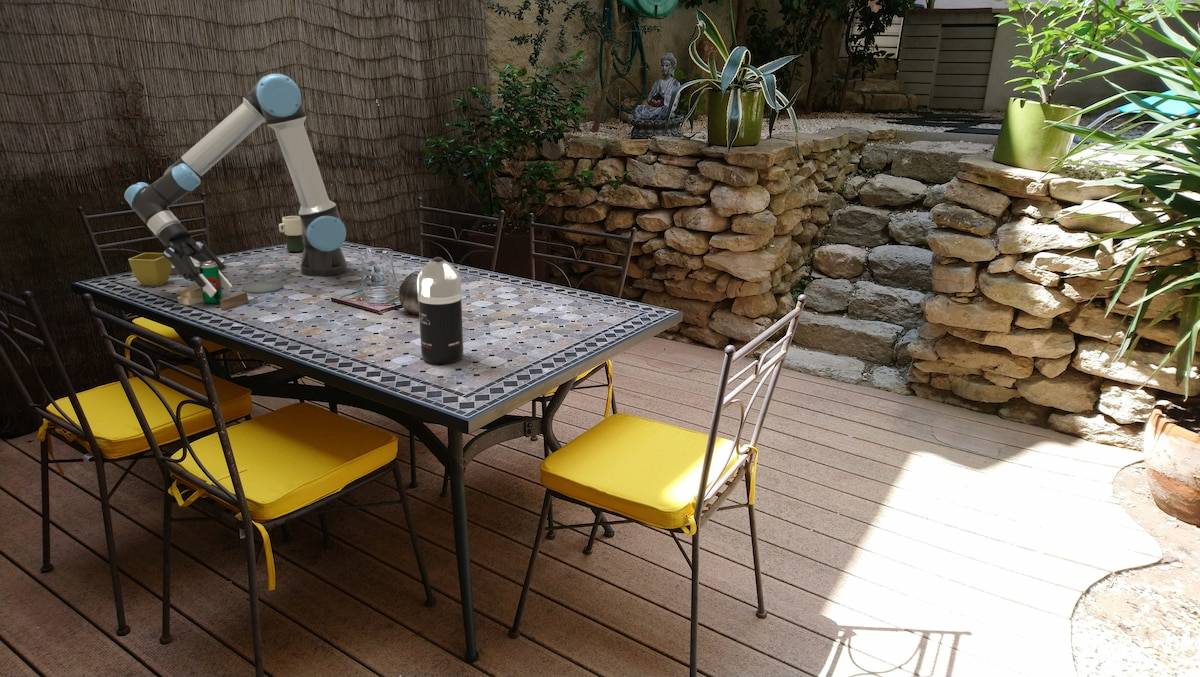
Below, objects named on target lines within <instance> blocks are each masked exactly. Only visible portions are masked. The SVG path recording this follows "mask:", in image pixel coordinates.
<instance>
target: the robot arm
mask: <svg viewBox="0 0 1200 677" xmlns="http://www.w3.org/2000/svg"><path fill="white" fill-rule="evenodd" d="M307 117H308V116H307V114H306V111H305V107H304V105H303V102H302V94H301V91H300V88H299V86H298V84H297V83H296V82H295V81H294V80H293V79H292V78H290V77H289V76H287V75H285V74H282V73H268V74H265V75H263V76H262V77H261V78H259V80H258V81H257V82H256V84H255V85H254V86H253V88H252V89H251V90H250V91H249V92H248V93H247V94H246V95H244V96H243V97H242V103H241V104H240V105H239V106H238V107H237V108H235V109H234V110H233V111H232V112H231V113H230V114H228V116H226V117H225V118H224V119H222V121H221V122H219V123H218V124H217V125H216V126H215V127H214V128H213V129H212V130H211V131H209V132H208V133H207V134H206V135H205V136H204V137H202V138H201V139H200V140H199V141H198V142H197V143H196V144H194V145H193V146H192V147H191V148H190V149H189V150H187V151H186V152H185V153H184V154H183V155H182V156H181V157H180V158H179V159H177V160H176V161H175V162H174V163H173V164H171V165H169V166H168V167H167V168H166V169H165V170H164V173H163V175H162V176H161V177H159V178H158V179H157V180H155V181H153V183H151V184H148V183H146V182H143V181H141V182H137V183H135V184H131V185H130V186H129V187H128V188H127V189H126V190H125V192H124V196H123V197H124V199H125V201H126V202H127V203H128V204H129V206H130V207H131V209H132V210H133V211H134V213H135V214H137V215H138V217H139V218H140V219H141V220H142V221H143V223H144V224H145V225H146V226H147V227H148V229H149V230H150V231H151V232H152V234H154V235H155V236H156V237H157V239H158V240H159V241H160V242H161V244H162V245H163V246H164V247H165V249H164V252H163V256H164V257H166V258H167V259H168V260H169V261H170V262H171V263H172V264H173V265H174V267H175V268H176V269H177V270H178V271H179V273H180V274H179V275H181V276H182V277H183V279H184V280H186V281H188V280H189V281H190V282H195V283H196V284H198V285H199V287H201V288H203V289H204V290H205V291H206V293H207V294H208V295H209V296H210V297H213V296H214V294H215V293H216V292H217V291H216V289H215V288H214V287H213V286H212V285H211V284H210V282H209V281H208V280H207V279H206V278H205V277H204V275H203V274H200V275H199V273H198V271H197V269H196V267H195V265H194V264H193V262H192V260H191V258H190V256H191V257H192V258H193V259H196V260H197V261H199V262H204V261H215V262H216V264H217V265H218V269H219V276H220V283H221V289H222V290H224V291H225V292H226V293H230V290H231V289H232V288H233V285H232V284H231V282H230V281H229V280H228V278H227V275H225V273H223V271H222V268H223V267H224V264H223V263H222V262H221V261H220V260H219V259H218V258H217V257H218V256H217V255H216V254H215V253H214V252H213V251H212V249H211V248H210V247H209V246H208V245H207V241H205V240H204V239H203V240H201V241H196V240H195V239H193V238H192V237H191V235H190V232H189V231H188V229H187V228H186V227H185V226H184V224H182V223H181V221H180V220H179V218H177V216H175V214H174V213H173V212H172V211H171V209H170V208H169V207H171V206H173V205H174V203H176V202H177V201H179V200H180V199H183V197H185V196H186V195H188V194H189V193H191V192H193V191H195V189H196V188H197V187H198V186H200V185H201V177H203V175H204V174H206V173H207V172H208V171H209V170H210V169H212V167H214V166H215V165H216V164H217V163H219V161H220V160H221V159H222V158H224V157H225V156H226V155H228V154H229V153H230V152H231V151H232V150H233V149H234V148H235V147H237V146H238V145H239V144H240V143H241V142H242V141H243V140H245V139H246V138H247V137H248V136H249V135H250V134H251V133H252V132H253V131H255V130H256V129H257V128H258V127H260V126H261V124H262V123H263V124H264V123H266V125H267V126H268V127H269V128H271V129H273V130H274V133H275V135H276V139H277V141H278V143H279V144H278V145H279V146H280V150H281V152H282V155H283V158H284V161H285V163H286V166H287V169H288V171H289V175H290V178H291V182H292V184H293V186H294V190H295V191H296V196H297V198H298V200H299V204H300V206H299V211H298V216H300V219H301V226H302V235H301V237H302V239H303V245H304V250H303V251H302V256H301V257H302V258H301V260H300V261H301V262H300V265H299V266H300V274H302V275H306V276H314V277H315V276H316V277H324V276H325V277H326V276H334V275H339V274H343V273H345V272H347V271H348V262H347V260H346V258H345V255H344V254H343V250H342V249H341V246H342V245H343V244H344V242H345V240H346V236H347V229H346V226H345V224H344V222H343V221H342V219H341V217H340V216H341V215H340V213H339V209H338V207H337V203H335V202H334V201H332V200H330V199H329V195H328V191H327V190H326V187H325V184H324V181H323V178H322V175H321V172H320V168H319V166H318V163H317V160H316V157H315V154H314V151H313V148H312V144H311V142H310V139H309V135H308V133H307V130H306V127H305V124H304V123H305V121H306V119H307Z"/></svg>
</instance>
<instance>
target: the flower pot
mask: <svg viewBox="0 0 1200 677" xmlns="http://www.w3.org/2000/svg"><path fill="white" fill-rule="evenodd" d="M163 253H164V252H163ZM163 253H162V252H142V253H141V254H138V255H136V256H133V257H130V258H128V259H127V260H128V262H129V266H130V269H131V271H132V274H133V276H134V277H135V279H136V280H137V281H138V282H139V283H140V285H142V286H157V287H158V286H161V285H163V284H164V283H167V282H168V281H169V278H170V276H171V275H172V274H171V268H172V263H171V262H170V261H169V260H168V259H167V258H166V257H164V256H163Z"/></svg>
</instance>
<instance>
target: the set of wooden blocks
mask: <svg viewBox="0 0 1200 677" xmlns="http://www.w3.org/2000/svg"><path fill="white" fill-rule="evenodd" d="M179 294H180V295H179V296H177V302H178V305H183V306H192V305H195V304H198V303H201V302H204V300H203V294H202V288H201V287H199V285H198V284H197V283H196V284H194V285H191V286H188V287H185V288H182V289H179ZM246 302H247V303H249V297H248V293H247V292H243V291H242V292H240V293H237V294H234V295H231V296H228V297H223V299H221V300H220V303H219V304H220V308H221V309H220V311H227V310H230V309H233V308H235V307H238V305H239V306H241V304H242V305H244V304H246Z"/></svg>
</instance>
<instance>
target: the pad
mask: <svg viewBox="0 0 1200 677" xmlns="http://www.w3.org/2000/svg"><path fill="white" fill-rule="evenodd" d="M283 286H284V283H282V282H279V281H271V280H269V281H256V282H250V283H247V284H244V285H242V286H241V291H242V292H243V291H244V292H249V293H248V294H267V293H266V292H269V293H274V292H278V291H280V290H282V289H284V287H283ZM281 288H282V289H281ZM279 289H280V290H279ZM277 290H278V291H277ZM273 291H274V292H273Z"/></svg>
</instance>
